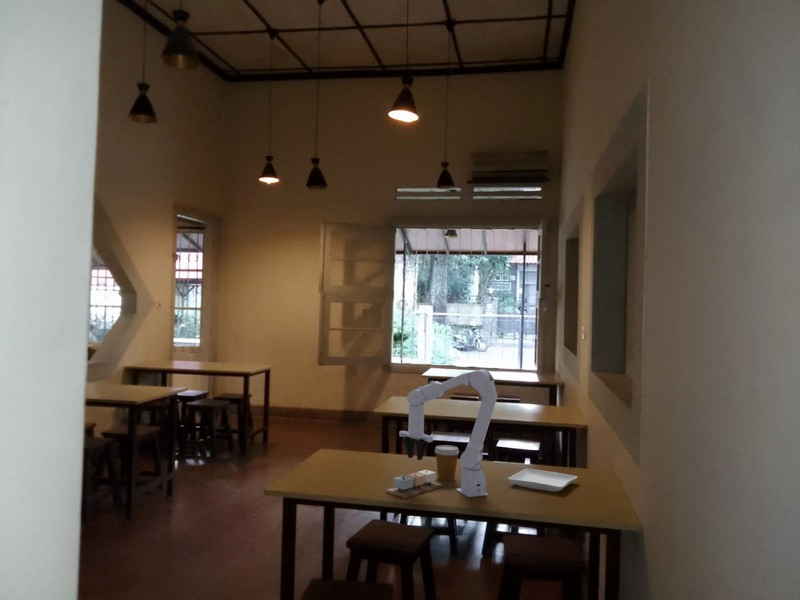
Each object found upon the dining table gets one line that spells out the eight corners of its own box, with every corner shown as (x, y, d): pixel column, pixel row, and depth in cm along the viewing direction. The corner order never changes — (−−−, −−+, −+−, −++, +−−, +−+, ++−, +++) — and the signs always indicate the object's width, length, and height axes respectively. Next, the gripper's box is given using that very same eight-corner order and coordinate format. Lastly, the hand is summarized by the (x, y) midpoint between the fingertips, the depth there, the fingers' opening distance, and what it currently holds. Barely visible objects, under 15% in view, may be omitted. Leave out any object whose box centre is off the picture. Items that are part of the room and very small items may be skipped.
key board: (423, 482, 239) (423, 473, 239) (442, 486, 233) (442, 478, 233) (386, 492, 223) (386, 483, 223) (405, 498, 217) (405, 488, 217)
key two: (414, 480, 231) (414, 472, 232) (424, 483, 228) (425, 474, 228) (405, 483, 228) (405, 474, 228) (416, 486, 224) (416, 477, 224)
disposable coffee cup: (449, 483, 238) (450, 451, 238) (429, 478, 244) (429, 447, 244) (463, 478, 246) (463, 447, 246) (442, 474, 251) (443, 444, 252)
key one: (425, 477, 236) (425, 469, 236) (435, 480, 233) (436, 471, 233) (416, 480, 233) (417, 471, 233) (427, 482, 229) (427, 474, 229)
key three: (402, 484, 227) (402, 475, 227) (413, 486, 223) (413, 477, 223) (393, 486, 223) (393, 477, 223) (404, 489, 219) (404, 480, 220)
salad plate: (525, 475, 255) (525, 467, 255) (578, 484, 244) (578, 475, 244) (506, 487, 236) (506, 477, 236) (562, 496, 225) (562, 486, 226)
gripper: (394, 420, 236) (393, 457, 235) (424, 425, 226) (423, 463, 226) (406, 418, 241) (405, 454, 241) (436, 423, 231) (435, 460, 231)
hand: (415, 458), depth 233 cm, fingers open, 4 cm apart
